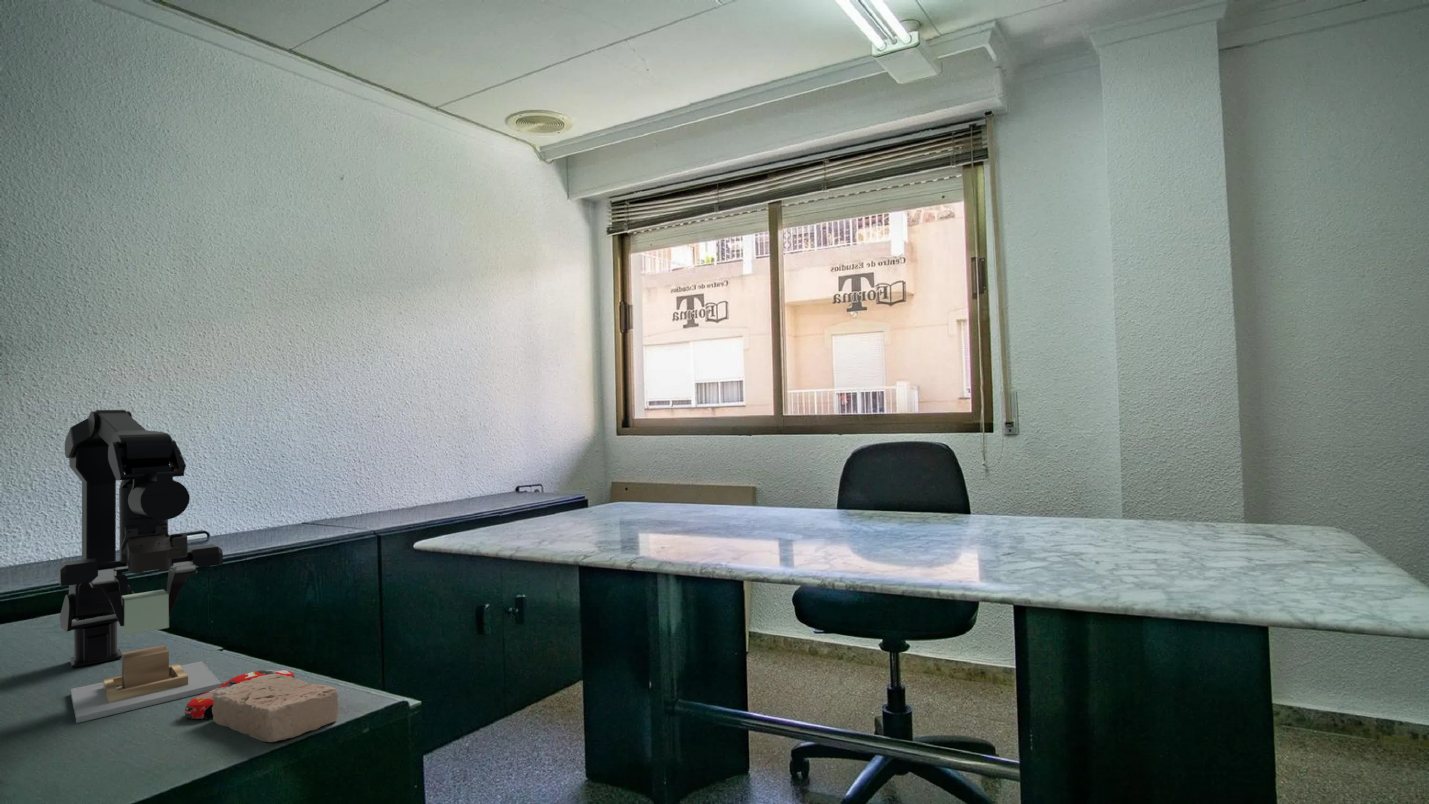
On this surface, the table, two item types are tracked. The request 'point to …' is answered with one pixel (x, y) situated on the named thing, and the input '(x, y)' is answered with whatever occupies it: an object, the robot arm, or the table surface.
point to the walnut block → (145, 666)
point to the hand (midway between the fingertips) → (145, 621)
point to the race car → (204, 702)
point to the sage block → (145, 612)
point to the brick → (275, 707)
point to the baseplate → (141, 692)
